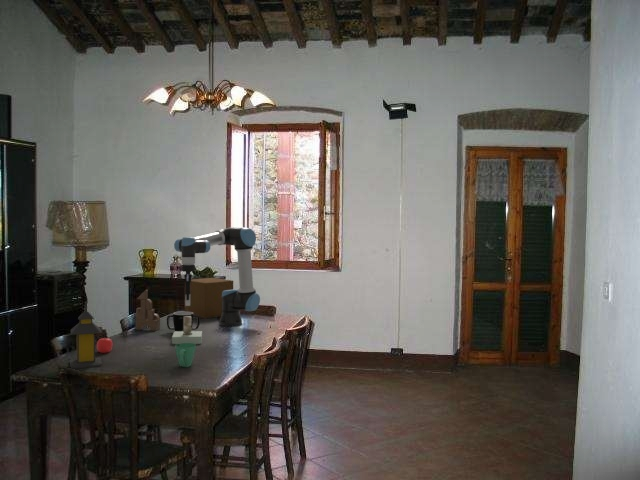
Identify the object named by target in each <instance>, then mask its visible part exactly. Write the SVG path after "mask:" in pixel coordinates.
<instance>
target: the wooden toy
mask: <svg viewBox="0 0 640 480" xmlns="http://www.w3.org/2000/svg"><path fill="white" fill-rule="evenodd" d="M148 293H149V289H145V290H144V291H143V292H142V293H141V294H140V295H139V296H138V297H136V299H137V300H140V307H137V308H136V310H135V311H136V315H135V326H134V328H135V330H136V331H142V330H143V329H144V327H146V326H147V327H149V329H150V331H153V332H154V331H158V330H160V329H161V318H160V316H159V314H158V313H155V309H154V308H153V301H152V300H151V299H150V298H148V297H149V295H148Z"/></svg>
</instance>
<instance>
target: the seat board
mask: <svg viewBox="0 0 640 480" xmlns="http://www.w3.org/2000/svg"><path fill="white" fill-rule="evenodd" d="M173 331H174V332H173V333H172V336H171V344H172V345H176V344H178V345H179V344H180V343H193V344H196V345H198V344H199V345H200V344H201V345H202V341H203V331H202V330H191V335H184V331H175V330H173Z"/></svg>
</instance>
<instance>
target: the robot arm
mask: <svg viewBox="0 0 640 480" xmlns="http://www.w3.org/2000/svg"><path fill="white" fill-rule="evenodd" d="M255 232H256V231H254V230H253V228H249V227H233V226H231V227H227V228H222V229H217V230H216V231H214V232H212V233H208V234H202V235H197V236H194V237H191V236H187V237H185V236H184V237H182V238H178V239H176V240H175V241H174V243H173V245H174V246H173V247H174V251H176V252H180V253H181V258H180V259H179V260H180V261H181V269H180V270H181V271H182V272H184V273H185V274H184V292H183V293H184V307H185V306H190V294H192V293H190V292H191V291H190V287H191V279H192V276H193V274H192V273H193V272H195V271H196V268H195V267H196V265H195V264H196V254H206V253H208V252H210V250H211V247H213V246H217V245H218V246H234V250H235V251H236V254H237V267H238V281H239V282H238V283H239V284H238V285H239V288H235V289H234V288H233V290H225V291H223V292H222V314H221V317H219V321H218V325H219V326H223V327H239V326H242V325H243V320H242V317H241V313H240V311H245V312H253V311H256V310H257V309H258V307H259V306H260V302H261V298H260V297H261V296H260V295H259V294H258V293H257V291H256V289H257V288H255V287H254V281H253V279H254V278H253V269H252V268H253V267H252V250H253V248H254V246H255V244H256V241H257V236H256V233H255ZM191 272H192V273H191Z"/></svg>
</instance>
